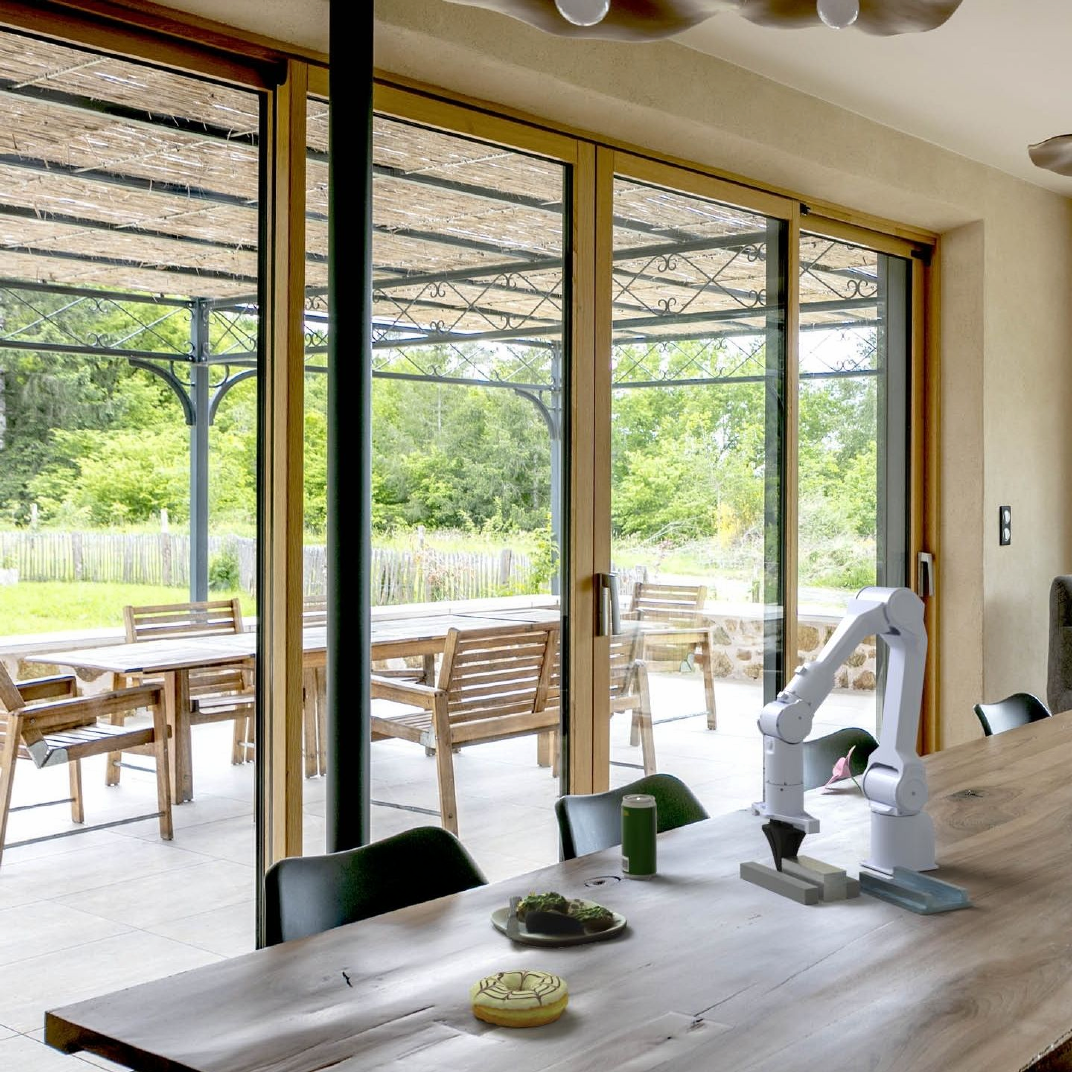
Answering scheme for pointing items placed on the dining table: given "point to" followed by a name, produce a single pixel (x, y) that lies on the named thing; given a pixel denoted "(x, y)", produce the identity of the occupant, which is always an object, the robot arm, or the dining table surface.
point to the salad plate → (557, 921)
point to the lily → (842, 770)
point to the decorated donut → (519, 998)
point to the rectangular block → (818, 876)
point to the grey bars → (789, 883)
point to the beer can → (639, 836)
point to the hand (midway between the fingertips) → (784, 871)
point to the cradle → (915, 891)
